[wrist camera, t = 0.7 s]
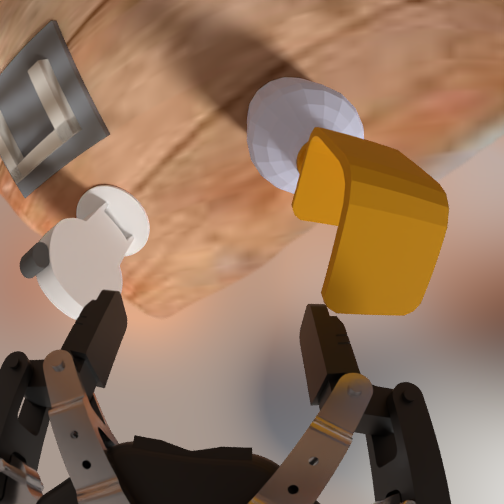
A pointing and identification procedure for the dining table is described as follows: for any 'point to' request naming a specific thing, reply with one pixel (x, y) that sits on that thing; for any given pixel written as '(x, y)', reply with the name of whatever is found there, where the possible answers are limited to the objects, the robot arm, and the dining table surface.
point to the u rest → (45, 111)
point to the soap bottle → (350, 195)
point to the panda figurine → (88, 249)
